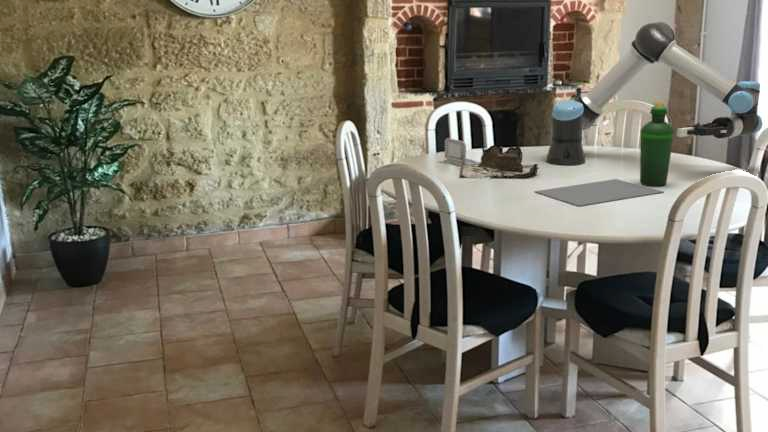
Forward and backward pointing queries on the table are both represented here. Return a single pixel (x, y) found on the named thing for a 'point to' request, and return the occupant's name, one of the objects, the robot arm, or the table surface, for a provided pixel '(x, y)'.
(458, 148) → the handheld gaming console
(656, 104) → the bottle
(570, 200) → the mat
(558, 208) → the table surface
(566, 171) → the table surface
